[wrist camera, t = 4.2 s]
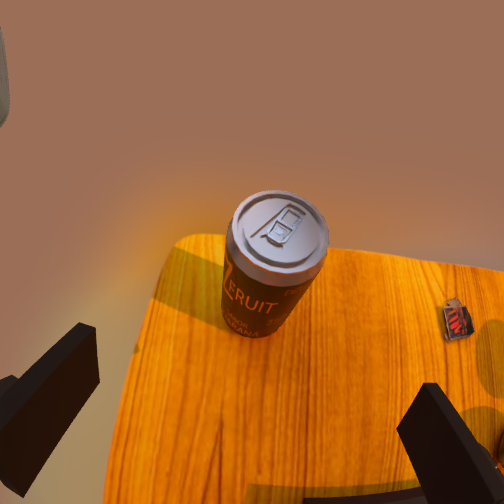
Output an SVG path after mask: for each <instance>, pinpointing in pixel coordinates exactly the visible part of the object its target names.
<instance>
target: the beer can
mask: <svg viewBox="0 0 504 504" xmlns="http://www.w3.org/2000/svg"><path fill="white" fill-rule="evenodd" d="M328 245H329V229H328V226H327V224H326V221H325V218H324V217H323V216H322V214H321V213H320V212H319V210H318V209H317V208H316V207H315V206H314V205H313V204H311V203H310V202H309V201H307V200H306V199H304V198H302V197H300V196H298V195H296V194H293V193H290V192H285V191H279V190H274V191H263V192H260V193H257V194H254V195H251V196H250V197H249V198H247V199H246V200H245V201H243V202H242V203H241V204H240V206H239V207H238V209H237V210H236V212H235V213H234V217H233V218H232V220H231V221H230V223H229V225H228V230H227V235H226V244H225V257H224V271H223V285H222V300H221V308H222V314H223V317H224V319H225V321H226V323H227V325H228V326H229V327H230V328H232V329H233V330H234V331H235V332H236V333H238V334H240V335H242V336H244V337H250V338H261V337H266V336H268V335H270V334H272V333H274V332H275V331H276V330H277V329H278V328H279V327H280V326H281V325H282V324H283V323H284V321H285V320H286V318H287V317H288V316H289V314H290V313H291V311H292V310H293V309H294V307H295V306H296V304H297V303H298V302H299V300H300V299H301V297H302V296H303V294H304V293H305V292H306V290H307V289H308V287H309V286H310V284H311V283H312V282H313V280H314V279H315V277H316V276H317V274H318V273H319V271H320V270H321V268H322V267H323V264H324V261H325V259H326V256H327V248H328Z"/></svg>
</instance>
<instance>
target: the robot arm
mask: <svg viewBox="0 0 504 504" xmlns="http://www.w3.org/2000/svg"><path fill="white" fill-rule="evenodd" d="M8 113H9V84H8V73H7V63H6V54H5V47H4V41H3V35H2V32H1V29H0V127H1V126H2V125H3V124H4V123H5V121H6V119H7V116H8ZM99 383H100V379H99V369H98V358H97V344H96V328H95V327H92V326H89V325H86V324H83V323H80V322H79V323H78V324H77V325H76V326H74V327H73V328H72V329H71V330H70V331H69V332H68V333H67V334H65V336H63V337H62V338H61V339H60V340H59V341H58V342H57V343H56V344H55V345H54V346H52V347H51V348H50V349H49V350H48V351H47V352H46V353H45V354H44V355H43V356H42V357H41V358H40V359H39V360H38V361H37V362H36V363H34V364H33V365H32V366H31V367H30V368H29V369H28V370H27V371H26V372H25V373H24V374H23V375H22V376H21V377H20V378H19V379H18V378H16V377H15V376H13V375H10V376H8V377H5V378H3V379H1V380H0V480H1V482H2V483H3V484H4V485H5V486H6V487H7V488H9V489H10V490H12V491H13V492H15V493H16V494H18V495H19V496H21V497H22V498H24V496H25V494H26V493H27V491H28V489H29V488H30V486H31V484H32V483H33V481H34V480H35V478H36V476H37V475H38V473H39V472H40V470H41V469H42V467H43V465H44V464H45V462H46V461H47V459H48V458H49V456H50V455H51V453H52V452H53V450H54V449H55V447H56V446H57V444H58V442H59V441H60V439H61V438H62V436H63V435H64V433H65V432H66V431H67V429H68V428H69V426H70V425H71V423H72V422H73V420H74V419H75V417H76V416H77V414H78V413H79V411H80V410H81V408H82V407H83V406H84V404H85V403H86V401H87V400H88V398H89V397H90V396H91V394H92V393H93V391H94V390H95V388H96V387H97V385H98V384H99ZM396 429H397V432H398V434H399V436H400V438H401V440H402V443H403V445H404V447H405V450H406V452H407V454H408V456H409V459H410V461H411V463H412V466H413V468H414V470H415V473H416V475H417V478H418V480H419V482H420V485H421V487H422V490H423V492H424V495H425V497H426V500H427V502H428V504H504V476H503V474H502V473H501V471H500V469H499V468H497V465H496V463H495V461H493V458H492V457H491V455H490V454H489V452H488V450H486V449H485V448H484V447H483V446H482V445H481V444H480V443H478V442H477V441H476V439H475V438H474V436H473V434H472V433H471V431H470V430H469V428H468V427H467V425H466V424H465V422H464V421H463V420H462V418H461V417H460V415H459V414H458V412H457V411H456V409H455V408H454V406H453V405H452V404H451V402H450V401H449V399H448V398H447V396H446V395H445V394H444V392H443V391H442V389H441V388H440V387H439V385H438V384H437V383H423V385H422V387H421V388H420V390H419V392H418V394H417V395H416V397H415V399H414V401H413V402H412V404H411V406H410V407H409V409H408V411H407V412H406V414H405V416H404V417H403V419H402V420H401V422H400V423H399V425H398V427H397V428H396Z"/></svg>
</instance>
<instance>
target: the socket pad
mask: <svg viewBox="0 0 504 504" xmlns="http://www.w3.org/2000/svg"><path fill="white" fill-rule="evenodd" d="M303 504H428V502H427V500H426V497H425V495H424V492H423V490H422V487H417V488H412V489H406V490H400V491H394V492H387V493H380V494H371V495H362V496H349V497H330V498H304V501H303Z"/></svg>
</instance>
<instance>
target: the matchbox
mask: <svg viewBox="0 0 504 504" xmlns="http://www.w3.org/2000/svg"><path fill="white" fill-rule="evenodd" d="M447 303H448V304H450V306H449V307H448V306H445V307H444V313H445V318H446V321H447V325H446V327H448V330H449V337H450V339H452V340H455V339H459V338H461V339H462V337H468V336H470V335H471V334H472V333H473V332H474V327H473V323H472V318H471V316H470V314H469V312H468V310H467V308H466V305H461V306H459V304H461V302H460V301H459V299H457V300H456V298H453V299H451V300H450V301H448V302H447ZM456 305H458V306H456ZM445 337H446V340H447V343H449V342H448V336H447V335H446V333H445Z"/></svg>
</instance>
